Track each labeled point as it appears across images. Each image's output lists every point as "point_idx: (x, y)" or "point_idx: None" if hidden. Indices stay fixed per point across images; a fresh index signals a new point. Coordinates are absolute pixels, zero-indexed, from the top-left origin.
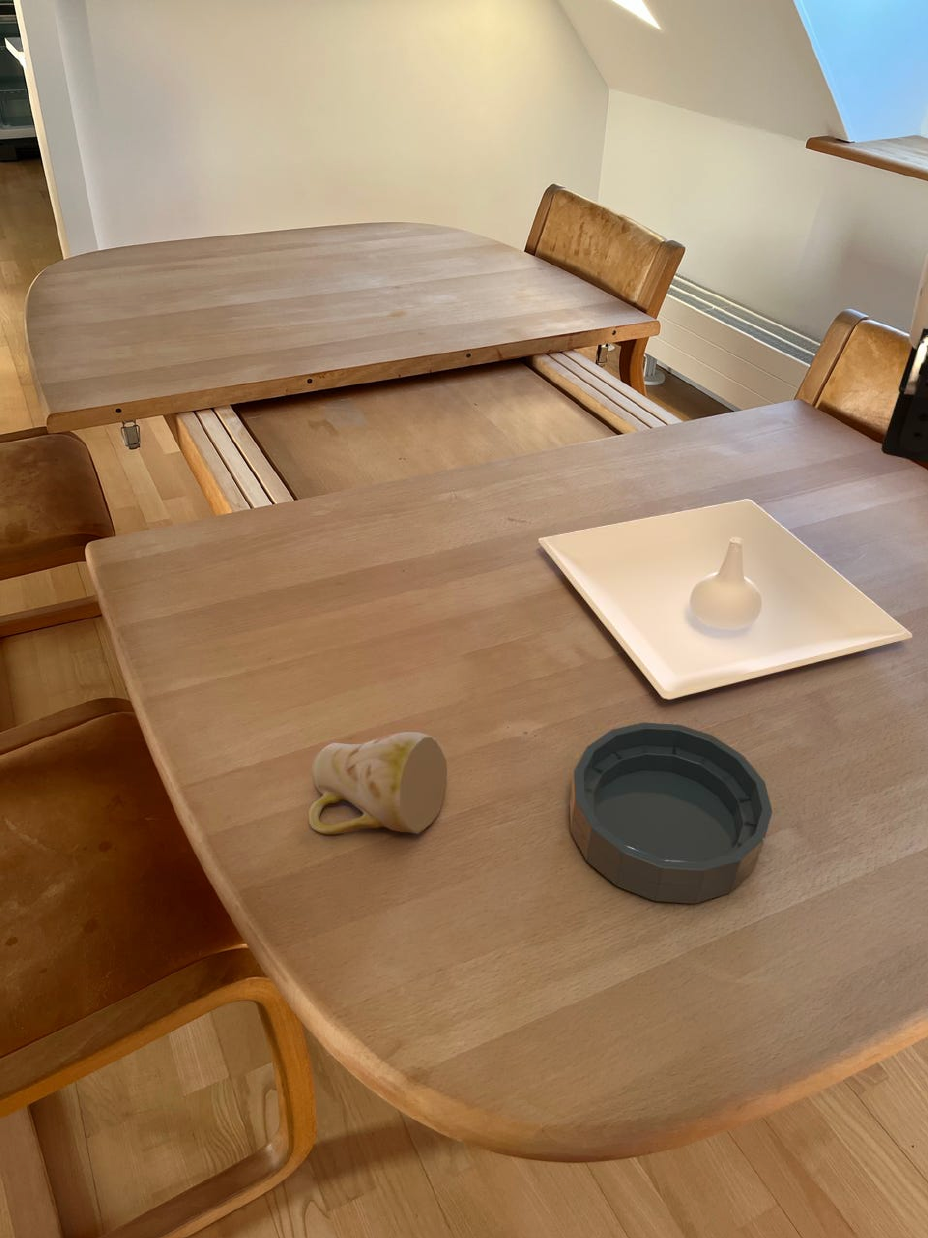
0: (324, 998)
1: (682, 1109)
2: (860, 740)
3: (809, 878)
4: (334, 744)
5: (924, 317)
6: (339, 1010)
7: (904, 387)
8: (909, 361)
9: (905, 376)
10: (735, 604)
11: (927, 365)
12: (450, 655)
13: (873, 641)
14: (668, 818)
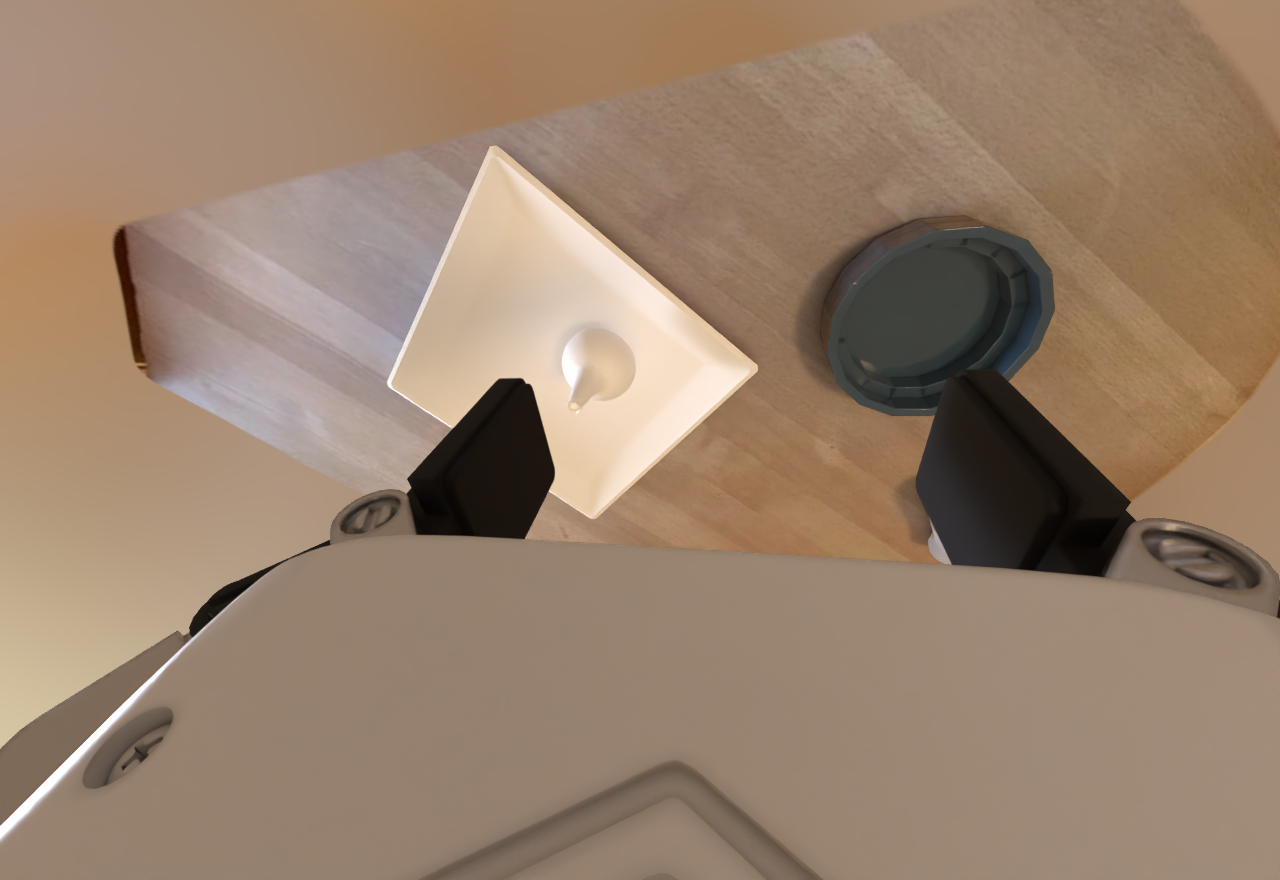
0: (1166, 470)
1: None
2: (697, 157)
3: (948, 153)
4: (946, 562)
5: None
6: (1178, 458)
7: (548, 479)
8: (525, 534)
9: (540, 502)
10: (619, 360)
11: None
12: (762, 518)
13: (540, 191)
14: (908, 313)
